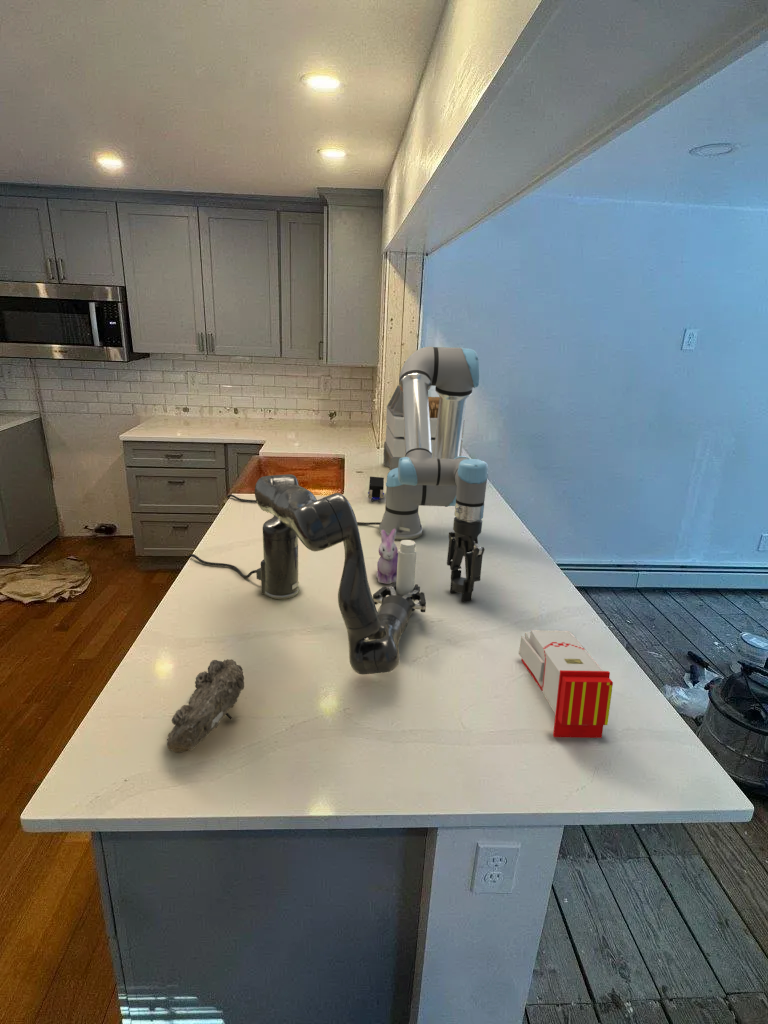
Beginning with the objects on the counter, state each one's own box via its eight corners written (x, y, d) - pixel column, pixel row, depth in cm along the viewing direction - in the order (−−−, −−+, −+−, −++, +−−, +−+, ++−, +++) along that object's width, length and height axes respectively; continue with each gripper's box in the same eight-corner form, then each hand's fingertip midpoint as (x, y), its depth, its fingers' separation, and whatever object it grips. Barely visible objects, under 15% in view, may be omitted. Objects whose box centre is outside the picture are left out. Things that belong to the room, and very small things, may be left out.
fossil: (192, 660, 117) (244, 628, 112) (224, 691, 120) (276, 661, 115) (142, 746, 98) (202, 712, 93) (182, 779, 101) (242, 748, 96)
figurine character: (384, 507, 230) (383, 491, 243) (385, 490, 226) (384, 475, 240) (367, 506, 230) (368, 491, 243) (368, 489, 226) (368, 474, 240)
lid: (460, 583, 161) (460, 575, 160) (474, 589, 157) (475, 582, 156) (447, 588, 157) (448, 580, 157) (462, 595, 154) (463, 587, 153)
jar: (406, 617, 146) (411, 547, 139) (391, 612, 148) (395, 543, 142) (415, 610, 150) (420, 541, 143) (400, 605, 152) (404, 537, 145)
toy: (565, 614, 131) (622, 678, 102) (559, 667, 134) (613, 744, 105) (513, 613, 131) (555, 677, 102) (509, 666, 134) (548, 744, 104)
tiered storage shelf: (382, 463, 289) (386, 382, 275) (445, 464, 293) (451, 384, 279) (390, 482, 257) (394, 392, 243) (460, 483, 261) (468, 394, 247)
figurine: (383, 587, 161) (385, 538, 155) (367, 573, 169) (369, 526, 164) (412, 582, 165) (415, 534, 160) (395, 567, 173) (397, 522, 168)
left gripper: (423, 608, 131) (434, 577, 147) (363, 598, 134) (381, 569, 150) (421, 636, 134) (432, 602, 149) (362, 626, 137) (380, 594, 152)
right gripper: (438, 509, 156) (431, 585, 164) (476, 531, 141) (468, 614, 149) (460, 506, 160) (453, 580, 167) (501, 527, 144) (491, 608, 152)
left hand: (406, 586), depth 149 cm, fingers closed on jar, 4 cm apart
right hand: (460, 596), depth 158 cm, fingers closed on lid, 5 cm apart
